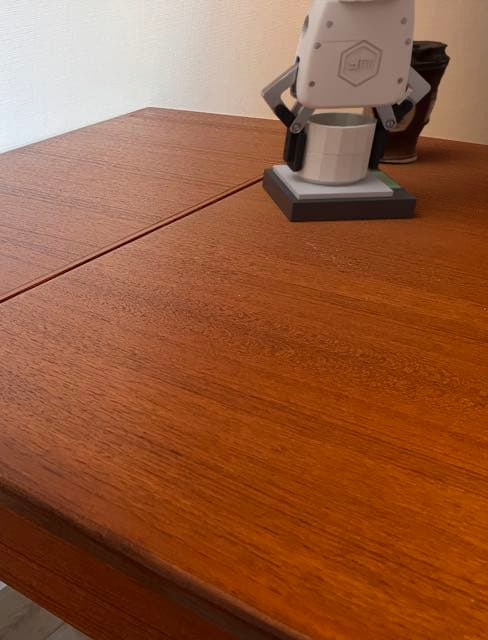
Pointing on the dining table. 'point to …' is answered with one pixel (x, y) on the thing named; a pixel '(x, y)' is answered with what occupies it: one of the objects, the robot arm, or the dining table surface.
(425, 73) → the coffee cup
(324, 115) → the white handleless cup
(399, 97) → the robot arm
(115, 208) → the dining table surface
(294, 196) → the scale
